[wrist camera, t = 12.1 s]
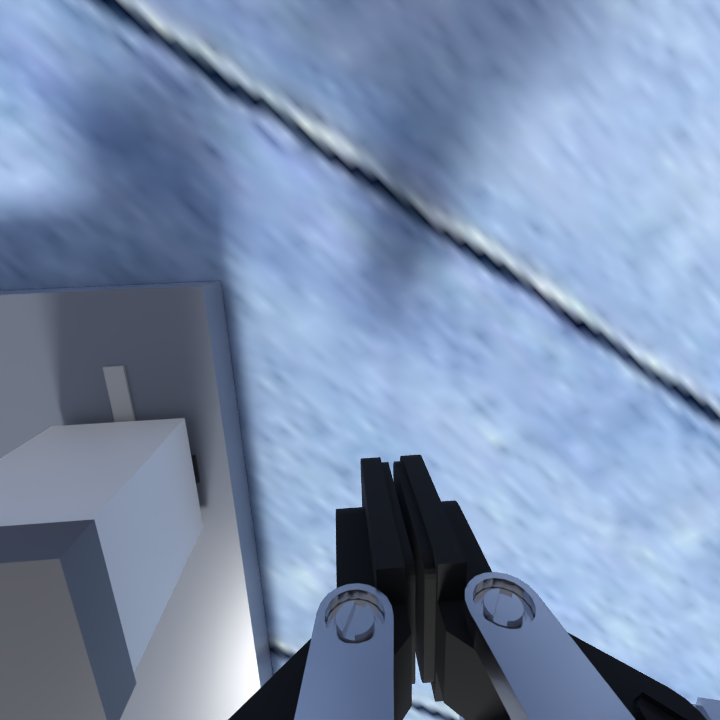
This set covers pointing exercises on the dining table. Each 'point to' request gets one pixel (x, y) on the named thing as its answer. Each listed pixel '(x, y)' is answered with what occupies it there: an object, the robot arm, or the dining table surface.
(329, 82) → the dining table surface
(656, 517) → the dining table surface
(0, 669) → the block
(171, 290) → the console
